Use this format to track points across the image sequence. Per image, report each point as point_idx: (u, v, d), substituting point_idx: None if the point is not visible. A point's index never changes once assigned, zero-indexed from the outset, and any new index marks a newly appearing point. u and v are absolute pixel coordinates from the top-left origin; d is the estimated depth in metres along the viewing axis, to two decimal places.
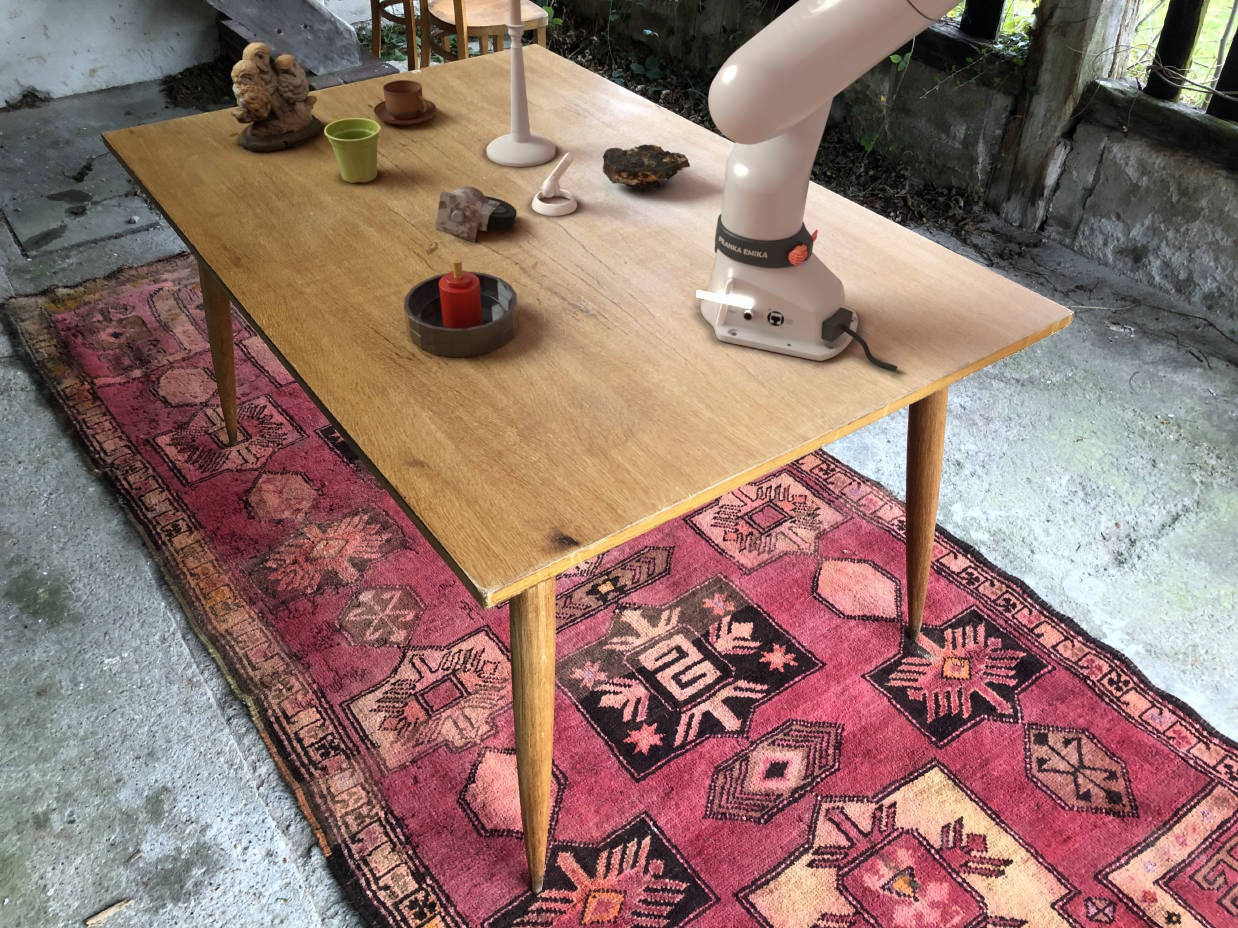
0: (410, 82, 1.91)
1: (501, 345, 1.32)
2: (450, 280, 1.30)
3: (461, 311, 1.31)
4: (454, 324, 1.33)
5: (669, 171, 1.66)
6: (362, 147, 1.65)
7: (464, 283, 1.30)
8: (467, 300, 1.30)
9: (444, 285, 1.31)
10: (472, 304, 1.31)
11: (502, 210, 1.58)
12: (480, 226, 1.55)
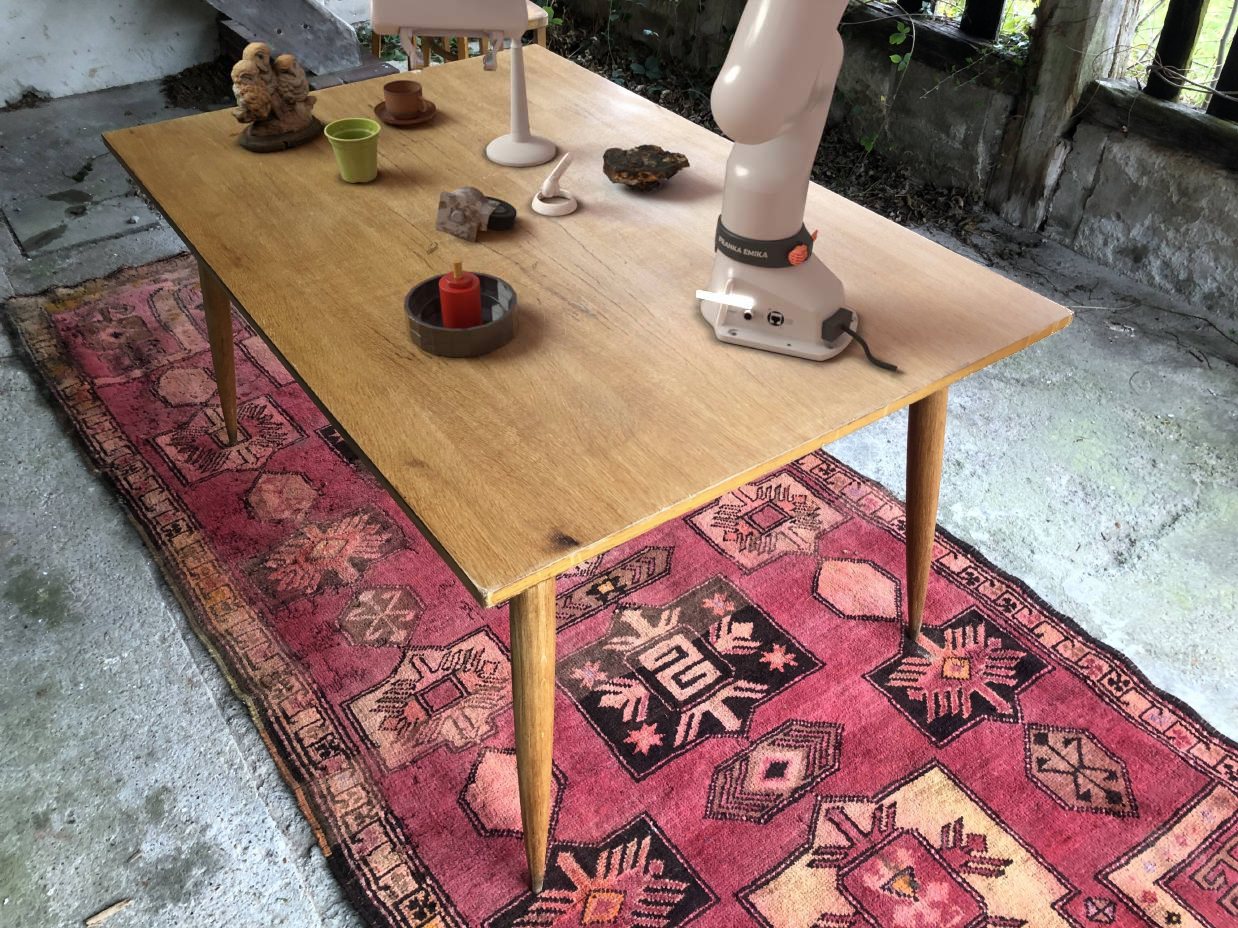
0: (410, 82, 1.91)
1: (501, 345, 1.32)
2: (450, 280, 1.30)
3: (461, 311, 1.31)
4: (454, 324, 1.33)
5: (669, 171, 1.66)
6: (362, 147, 1.65)
7: (464, 283, 1.30)
8: (467, 300, 1.30)
9: (444, 285, 1.31)
10: (472, 304, 1.31)
11: (502, 210, 1.58)
12: (480, 226, 1.55)
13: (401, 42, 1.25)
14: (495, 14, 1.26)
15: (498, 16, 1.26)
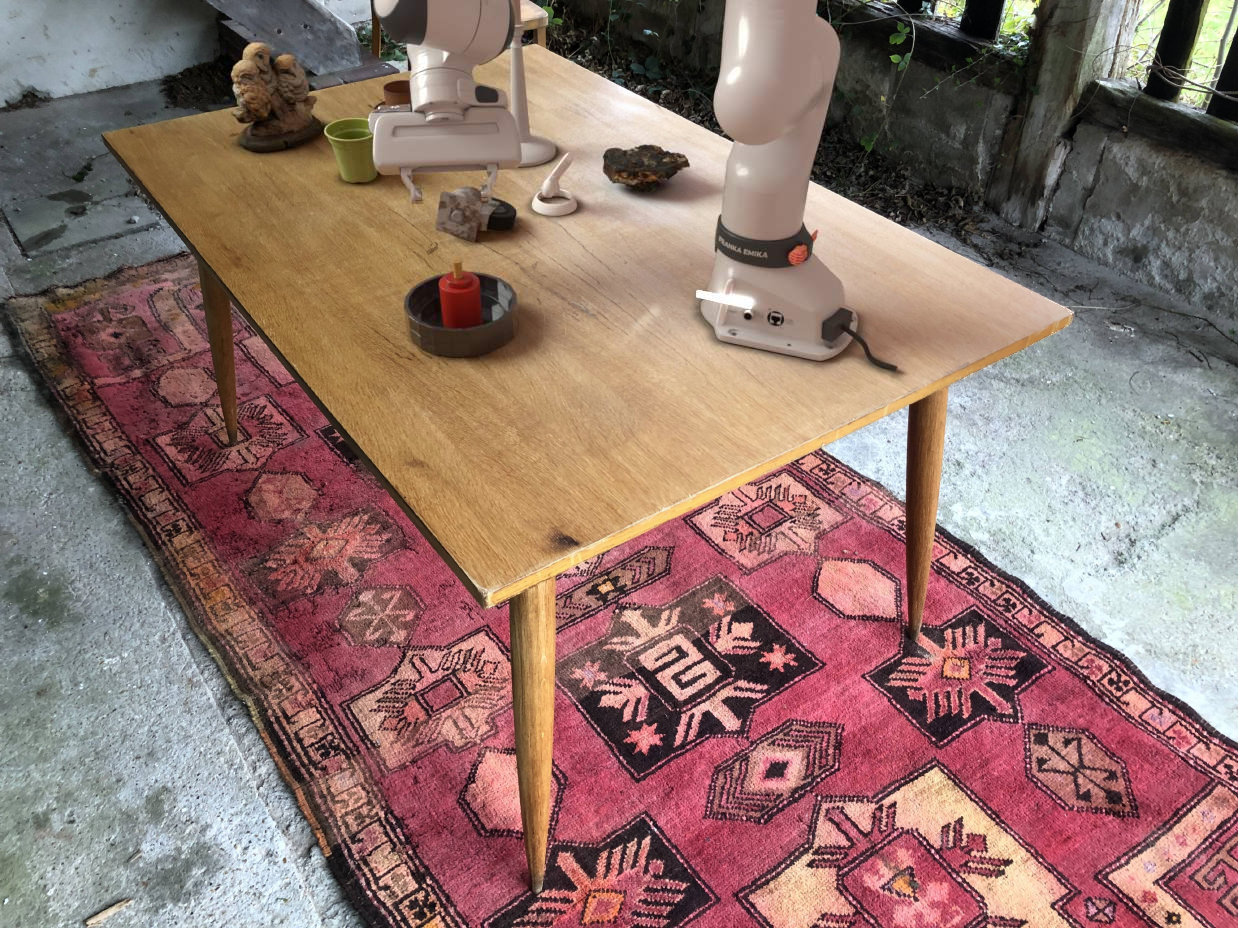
0: None
1: (501, 345, 1.32)
2: (450, 280, 1.30)
3: (461, 311, 1.31)
4: (454, 324, 1.33)
5: (669, 171, 1.66)
6: (362, 147, 1.65)
7: (464, 283, 1.30)
8: (467, 300, 1.30)
9: (444, 285, 1.31)
10: (472, 304, 1.31)
11: (502, 210, 1.58)
12: (480, 226, 1.55)
13: (403, 180, 1.34)
14: (488, 149, 1.34)
15: (492, 150, 1.34)
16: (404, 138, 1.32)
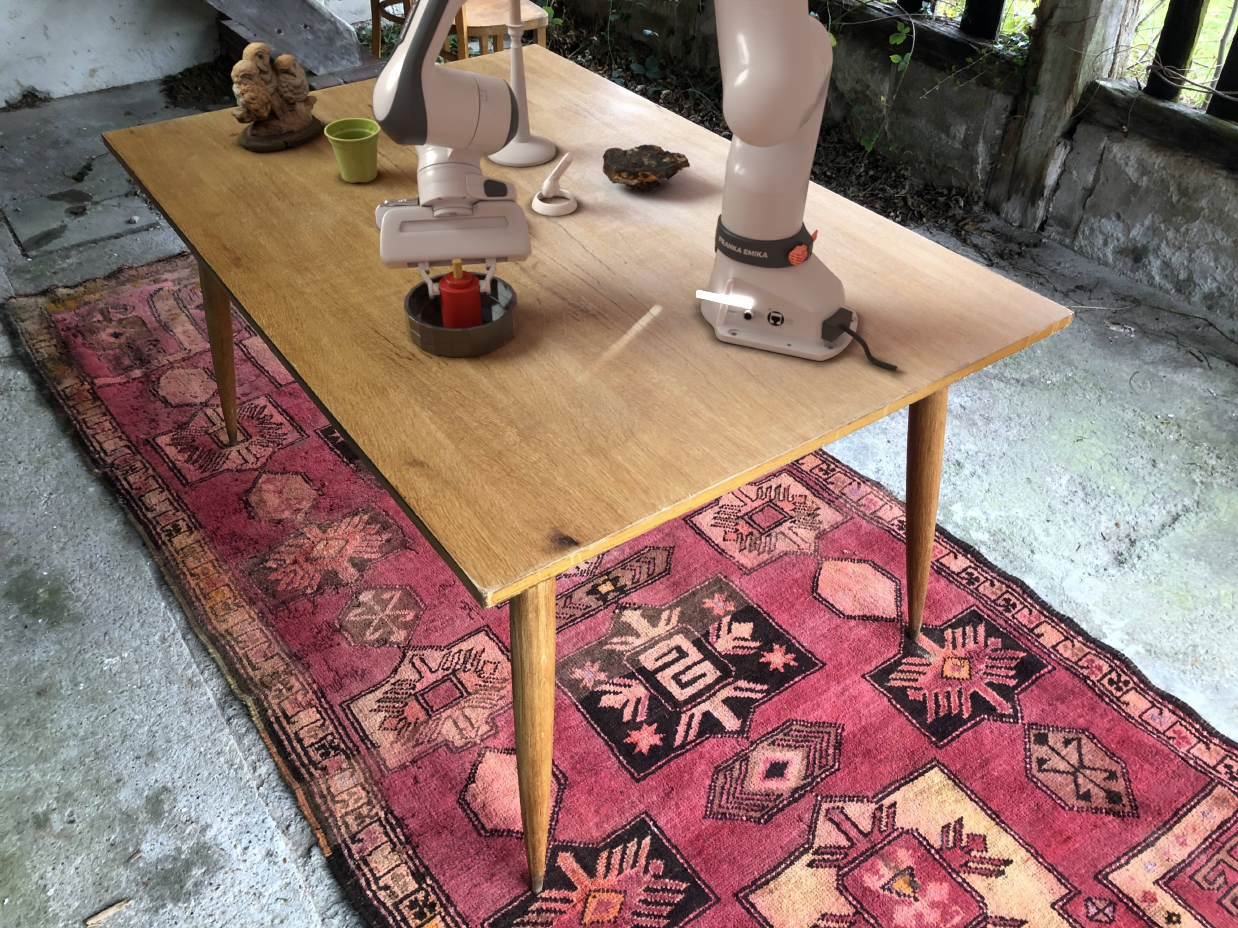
0: None
1: (501, 345, 1.32)
2: (450, 280, 1.30)
3: (461, 311, 1.31)
4: (454, 324, 1.33)
5: (669, 171, 1.66)
6: (362, 147, 1.65)
7: (464, 283, 1.30)
8: (466, 300, 1.30)
9: (444, 285, 1.31)
10: (472, 304, 1.31)
11: None
12: None
13: (420, 274, 1.32)
14: (497, 243, 1.31)
15: (501, 244, 1.31)
16: (412, 233, 1.30)
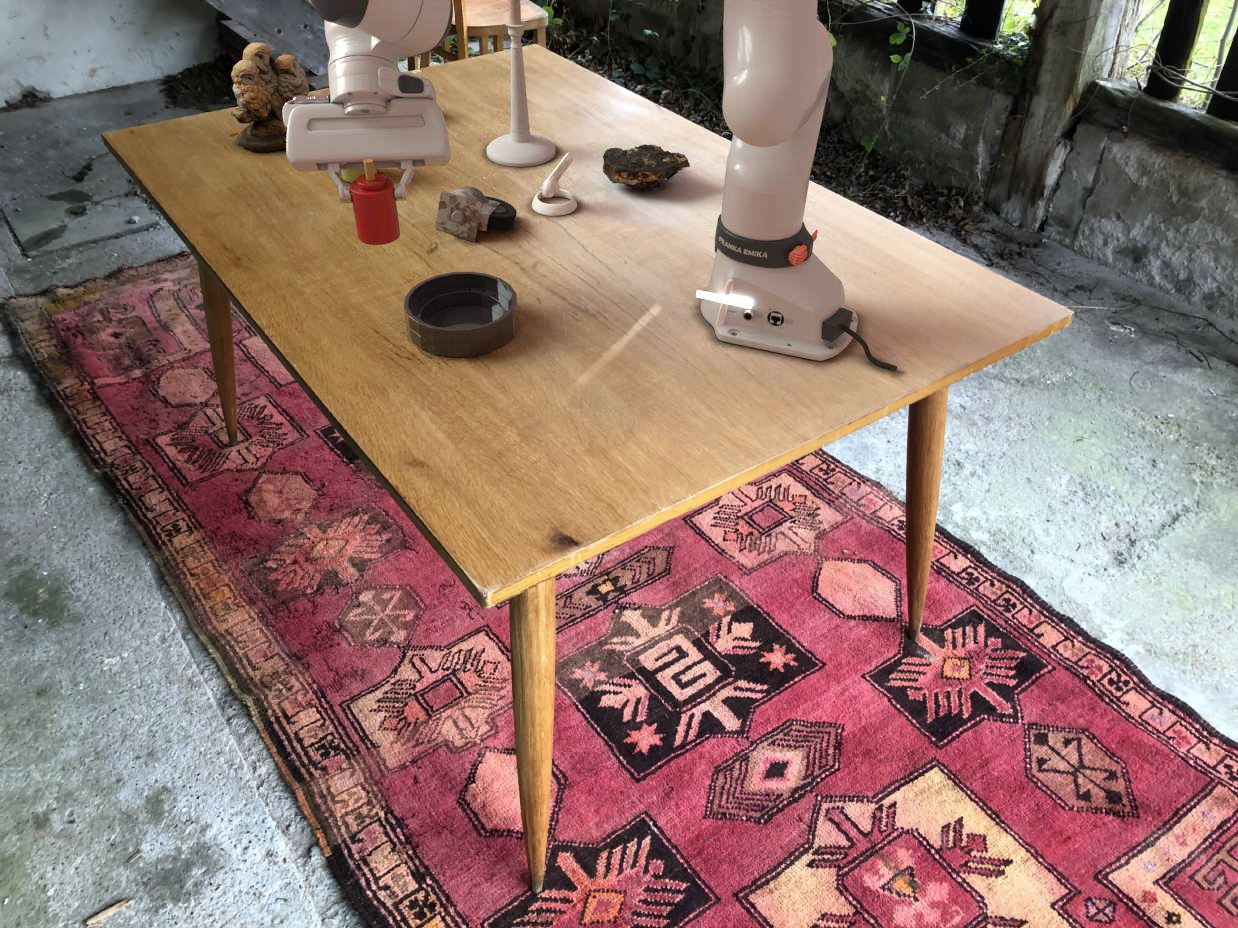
0: None
1: (501, 345, 1.32)
2: (362, 182, 1.21)
3: (373, 216, 1.23)
4: (368, 230, 1.24)
5: (669, 171, 1.66)
6: None
7: (376, 185, 1.21)
8: (379, 203, 1.22)
9: (355, 187, 1.22)
10: (385, 208, 1.23)
11: (502, 210, 1.58)
12: (480, 226, 1.55)
13: (330, 177, 1.23)
14: (413, 144, 1.23)
15: (417, 145, 1.23)
16: (320, 131, 1.21)
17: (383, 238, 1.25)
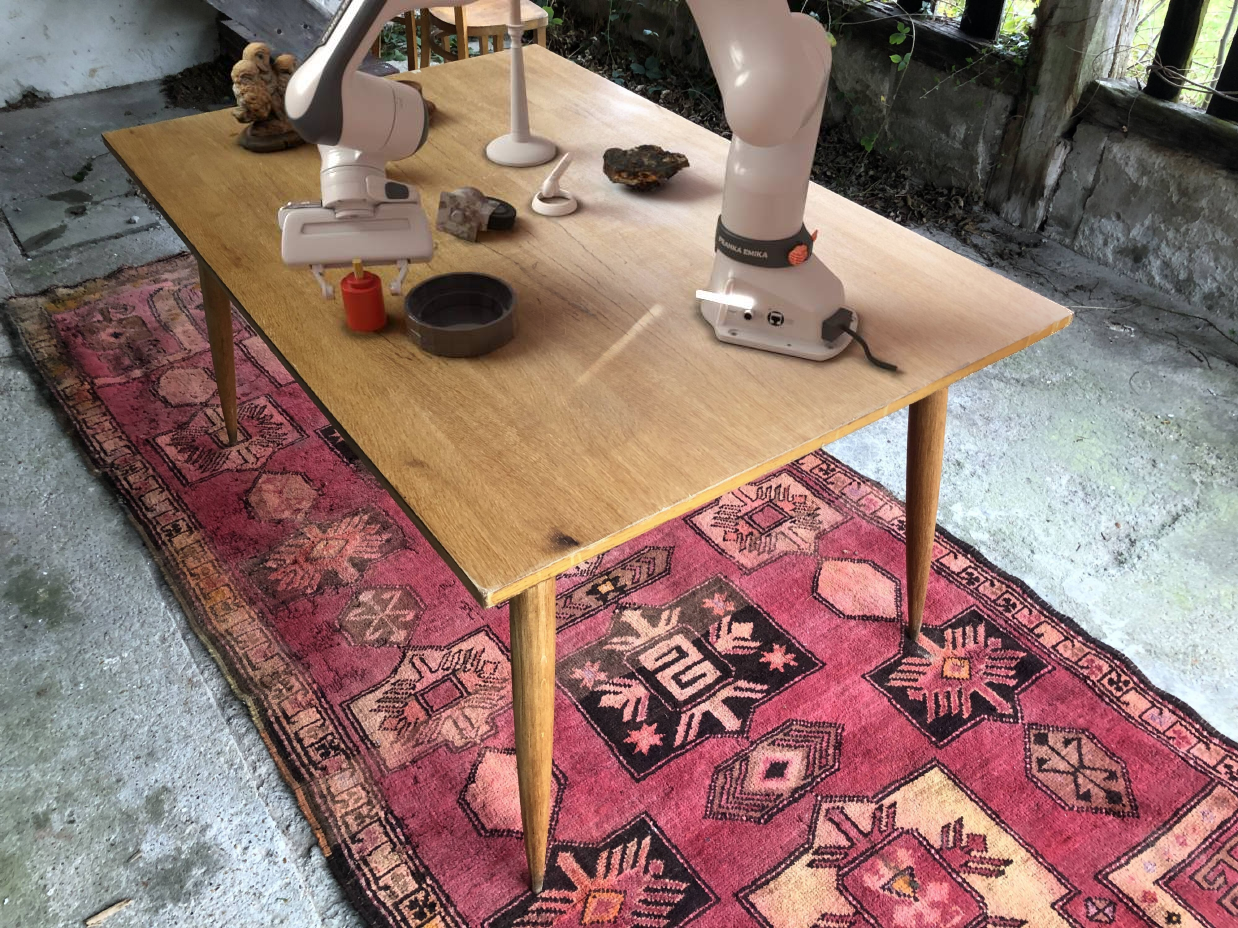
0: (410, 82, 1.91)
1: (501, 345, 1.32)
2: (351, 280, 1.31)
3: (362, 310, 1.32)
4: (357, 323, 1.33)
5: (669, 171, 1.66)
6: None
7: (364, 283, 1.31)
8: (367, 300, 1.31)
9: (345, 285, 1.31)
10: (373, 303, 1.32)
11: (502, 210, 1.58)
12: (480, 226, 1.55)
13: None
14: (399, 245, 1.32)
15: (403, 246, 1.32)
16: (313, 235, 1.31)
17: (371, 329, 1.34)
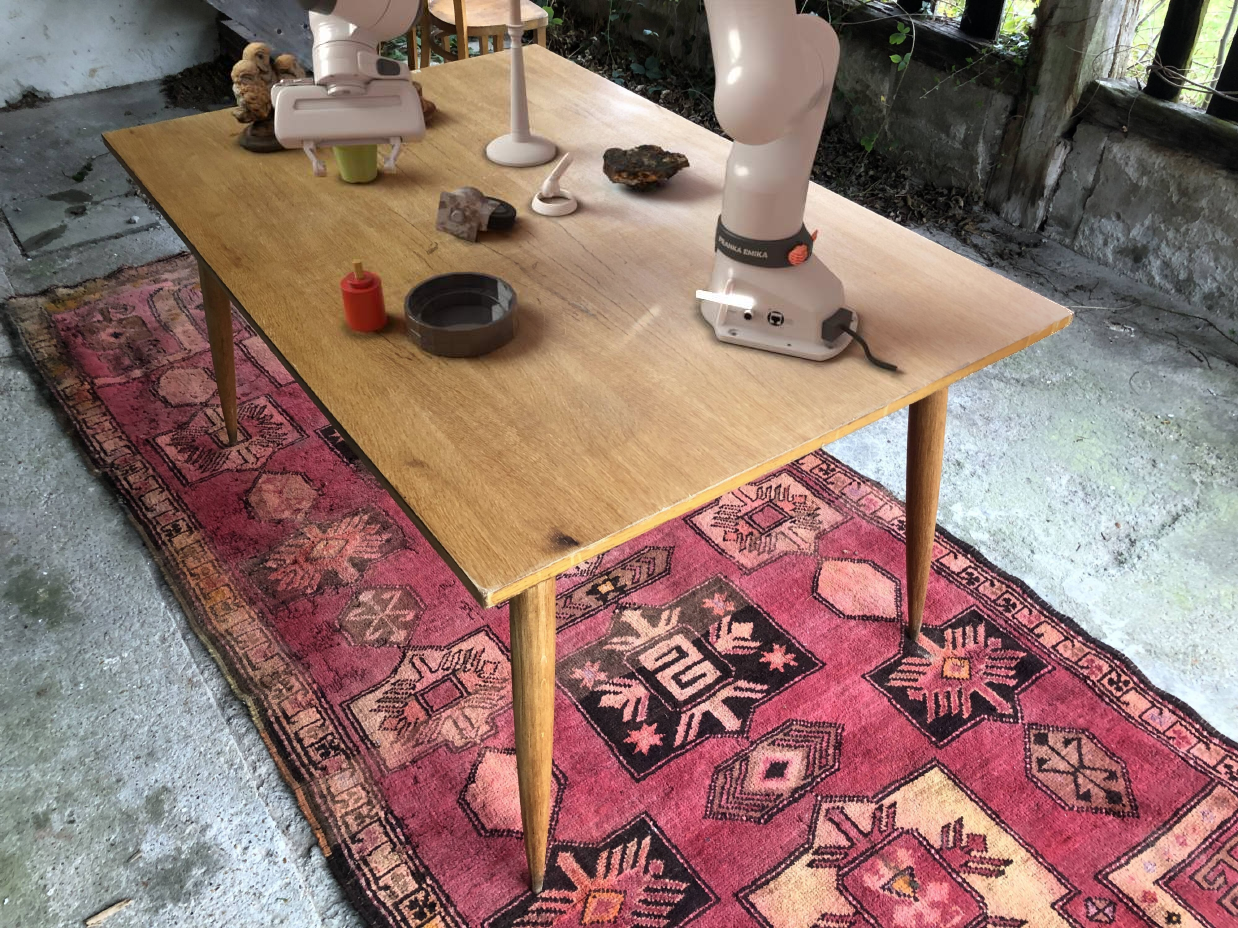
0: None
1: (501, 345, 1.32)
2: (351, 280, 1.31)
3: (362, 310, 1.32)
4: (357, 323, 1.33)
5: (669, 171, 1.66)
6: (362, 147, 1.65)
7: (364, 283, 1.31)
8: (367, 300, 1.31)
9: (345, 285, 1.31)
10: (373, 303, 1.32)
11: (502, 210, 1.58)
12: (480, 226, 1.55)
13: (306, 153, 1.34)
14: (391, 122, 1.34)
15: (394, 123, 1.34)
16: (306, 111, 1.33)
17: (371, 329, 1.34)
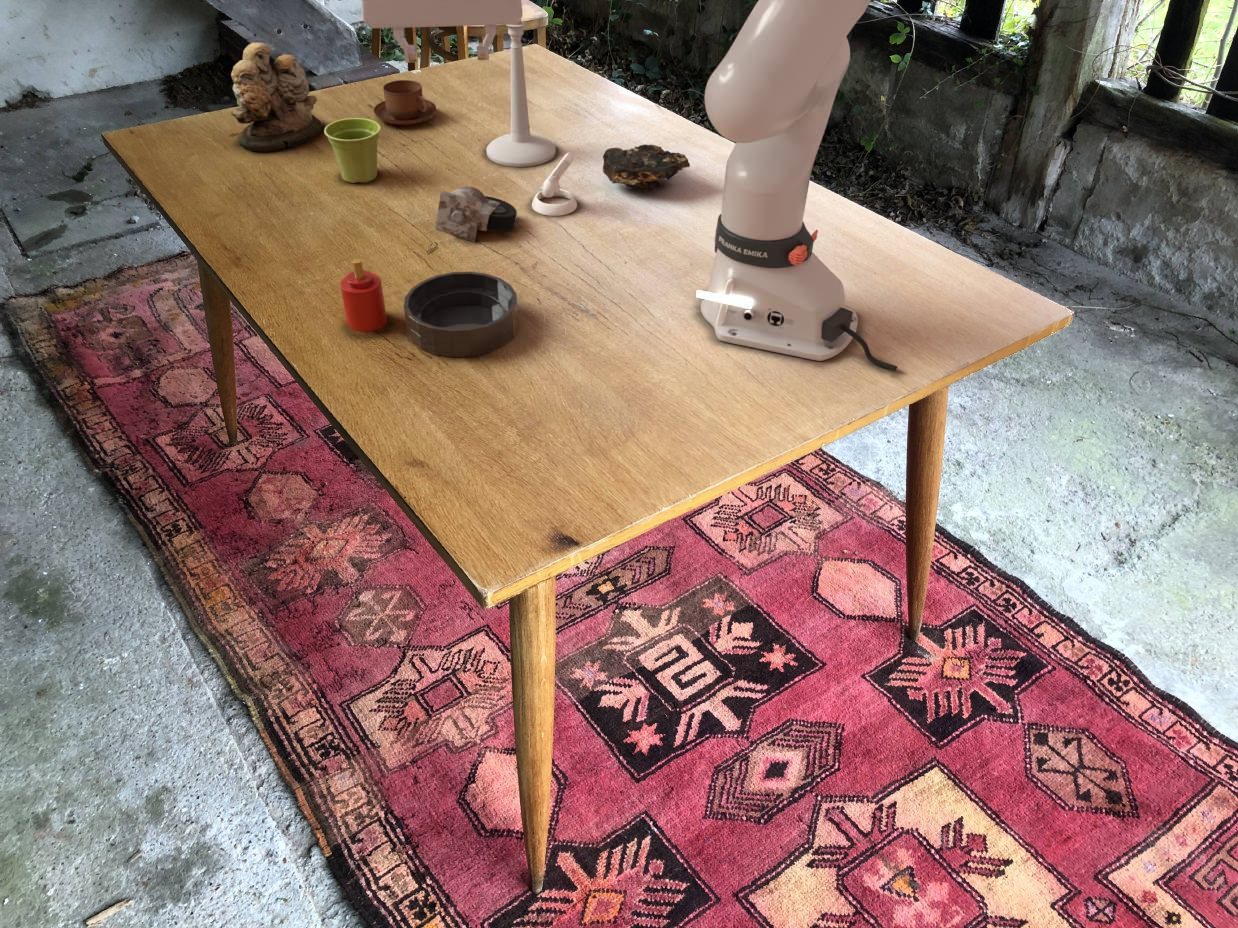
0: (410, 82, 1.91)
1: (501, 345, 1.32)
2: (351, 280, 1.31)
3: (362, 310, 1.32)
4: (357, 323, 1.33)
5: (669, 171, 1.66)
6: (362, 147, 1.65)
7: (364, 283, 1.31)
8: (367, 300, 1.31)
9: (345, 285, 1.31)
10: (373, 303, 1.32)
11: (502, 210, 1.58)
12: (480, 226, 1.55)
13: None
14: (487, 12, 1.24)
15: (491, 13, 1.24)
16: None
17: (371, 329, 1.34)
